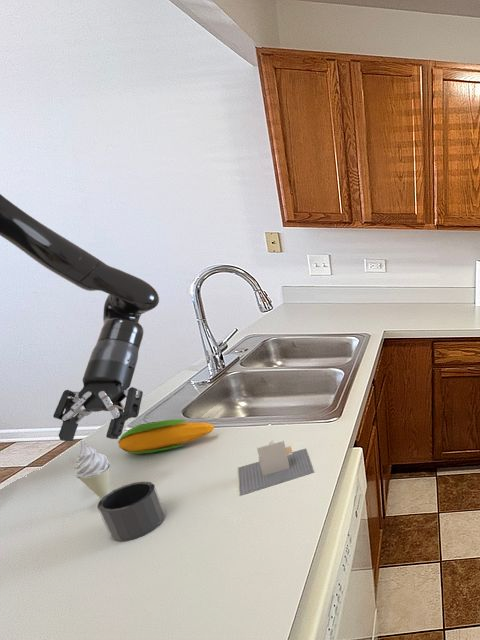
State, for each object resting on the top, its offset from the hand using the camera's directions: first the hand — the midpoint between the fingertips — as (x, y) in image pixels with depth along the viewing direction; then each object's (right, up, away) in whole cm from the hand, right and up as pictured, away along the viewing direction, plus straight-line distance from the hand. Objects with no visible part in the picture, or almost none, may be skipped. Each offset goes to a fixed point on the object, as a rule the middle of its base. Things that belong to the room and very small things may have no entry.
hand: (89, 439), depth 79 cm
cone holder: (+12, -16, -2) cm, 20 cm away
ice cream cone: (+1, -14, +3) cm, 14 cm away
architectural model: (+31, -10, +13) cm, 35 cm away
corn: (-1, -6, +23) cm, 23 cm away
